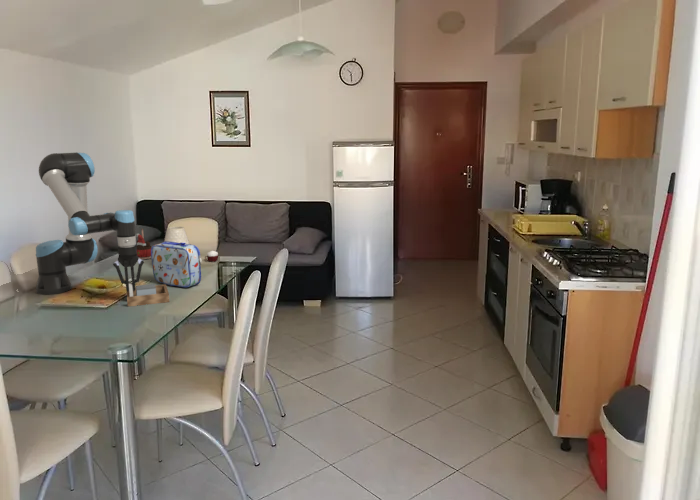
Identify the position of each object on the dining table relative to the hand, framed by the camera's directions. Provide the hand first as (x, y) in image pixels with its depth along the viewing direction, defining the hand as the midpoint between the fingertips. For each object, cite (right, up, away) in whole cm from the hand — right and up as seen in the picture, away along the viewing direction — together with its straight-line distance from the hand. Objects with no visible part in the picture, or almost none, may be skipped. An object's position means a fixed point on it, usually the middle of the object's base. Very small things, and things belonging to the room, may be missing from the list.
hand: (131, 297), depth 250 cm
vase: (+3, +10, +60) cm, 61 cm away
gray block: (+6, -1, +3) cm, 6 cm away
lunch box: (+13, +4, +28) cm, 31 cm away
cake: (-26, +16, +87) cm, 93 cm away
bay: (+6, -1, +3) cm, 6 cm away
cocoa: (+17, +14, +78) cm, 82 cm away
